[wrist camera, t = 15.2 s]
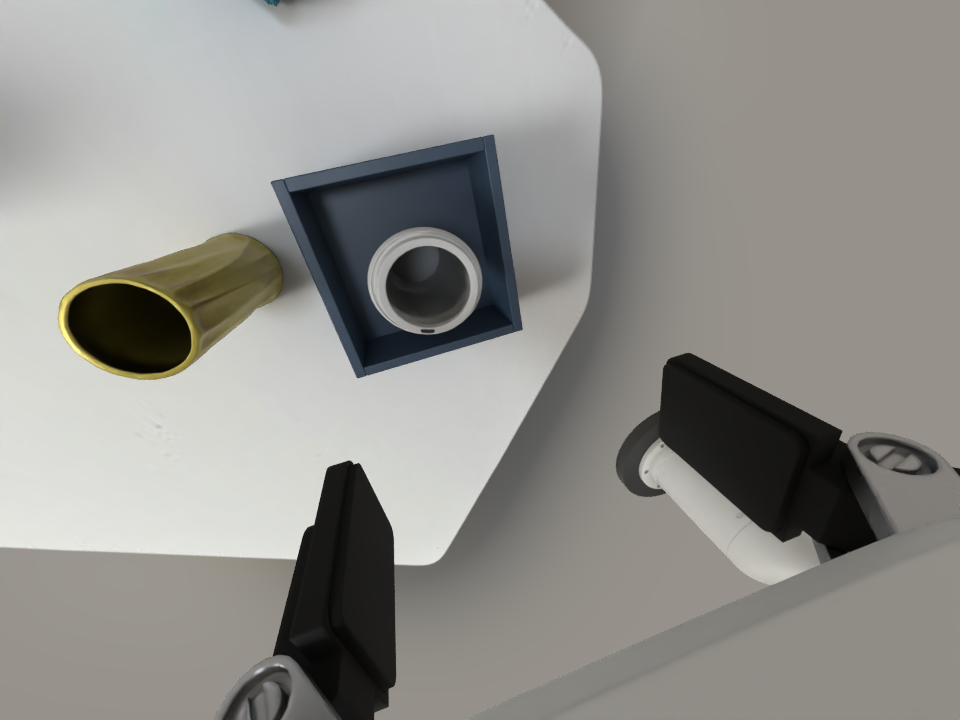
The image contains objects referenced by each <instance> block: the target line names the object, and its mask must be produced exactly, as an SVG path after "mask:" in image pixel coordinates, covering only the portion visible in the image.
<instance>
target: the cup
mask: <svg viewBox="0 0 960 720" xmlns="http://www.w3.org/2000/svg"><path fill="white" fill-rule="evenodd" d="M368 289H369V293H370V296H371V299H372V301H373V303H374V305H375V307H376V308H377V310H378V311H379V312H380V313H381V314H382V316H383V317H385V318H386V319H387V320H388V321H389V322H391V323H392V324H393V325H395V326H397V327H399V328H401V329H403V330H405V331H409V332H412V333H417V334H426V335H429V334H439V333H442V332H446V331H448V330H451V329H453V328H455V327H456V326H458V325H459V324H460V323H462V322H463V321H464V320H465V319H466V318H467V317H468V316H469V315H470V314H471V313H472V312H473V311H474V309H475V307H476V306H477V303H478V301H479V299H480V295H481V290H482V273H481V268H480V265H479V262H478V260H477V258H476V256H475V254H474V253H473V251H472V250H471V249H470V248H469V246H468V245H467V244H466V243H465V242H463V241H462V240H461V239H460V238H458V237H457V236H455V235H453V234H451V233H449V232H447V231H444V230H441V229H437V228H432V227H416V228H410V229H406V230H403V231H401V232H399V233H396V234H395V235H393V236H391V237H390V238H388V239H387V240H386V241H385V242H384V243H383V244H382V245H381V246H380V247H379V248H378V249H377V251H376V252H375V254H374V256H373V258H372V260H371V262H370V265H369V269H368Z"/></svg>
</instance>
